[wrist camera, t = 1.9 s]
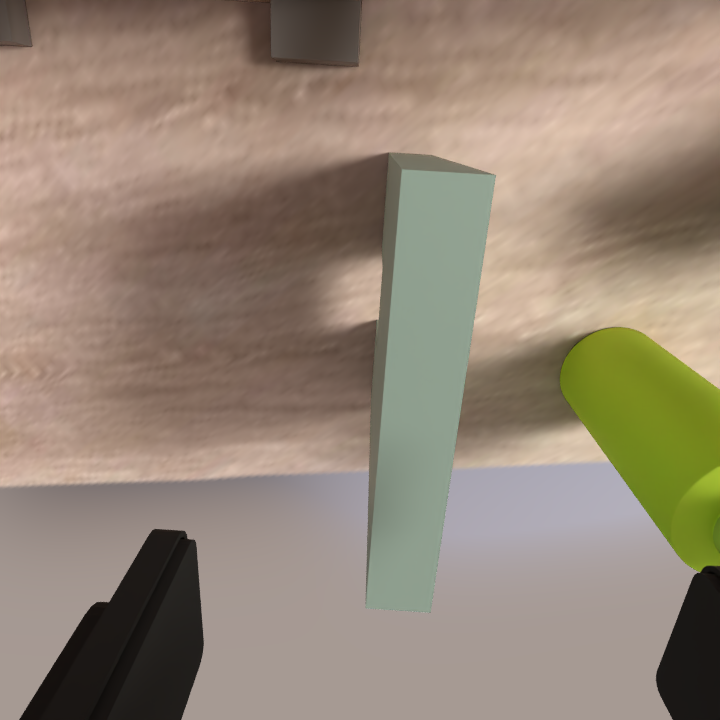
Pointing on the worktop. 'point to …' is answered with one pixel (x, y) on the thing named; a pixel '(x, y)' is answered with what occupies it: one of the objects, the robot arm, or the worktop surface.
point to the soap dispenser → (653, 433)
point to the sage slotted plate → (420, 367)
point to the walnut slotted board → (288, 29)
